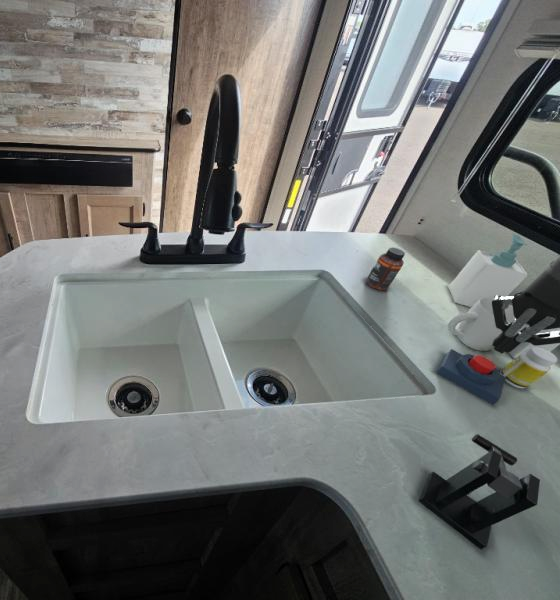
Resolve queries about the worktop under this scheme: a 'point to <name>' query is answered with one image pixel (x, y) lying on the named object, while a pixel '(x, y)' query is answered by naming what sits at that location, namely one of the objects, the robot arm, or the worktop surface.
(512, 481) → the lever
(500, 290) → the soap bottle
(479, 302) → the mug
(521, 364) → the supplement bottle
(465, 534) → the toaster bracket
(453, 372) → the button housing
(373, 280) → the supplement bottle
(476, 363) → the button
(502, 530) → the worktop surface
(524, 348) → the cosmetic box
